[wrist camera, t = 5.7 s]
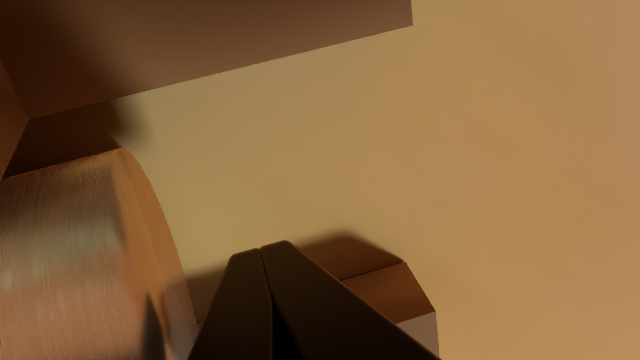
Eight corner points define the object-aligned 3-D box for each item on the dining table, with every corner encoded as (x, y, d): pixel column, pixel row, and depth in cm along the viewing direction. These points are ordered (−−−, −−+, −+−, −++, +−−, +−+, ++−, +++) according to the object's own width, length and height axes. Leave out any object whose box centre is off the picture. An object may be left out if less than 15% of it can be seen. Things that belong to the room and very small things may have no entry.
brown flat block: (410, 311, 12) (490, 454, 9) (7, 436, 11) (-45, 641, 8) (365, -98, 8) (483, -70, 5) (-285, 41, 7) (-594, 175, 4)
